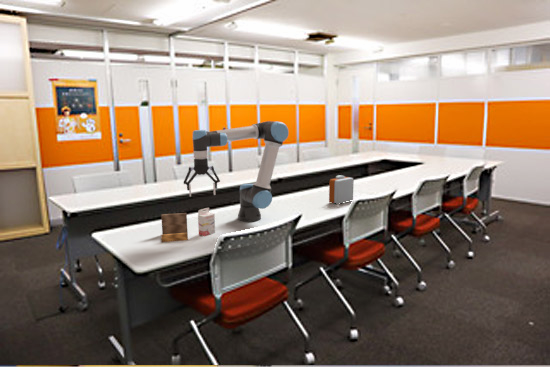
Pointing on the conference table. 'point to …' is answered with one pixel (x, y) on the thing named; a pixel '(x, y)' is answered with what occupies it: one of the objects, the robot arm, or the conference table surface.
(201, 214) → the ink cartridge box
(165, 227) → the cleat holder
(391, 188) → the conference table surface
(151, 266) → the conference table surface
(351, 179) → the grey and orange case
